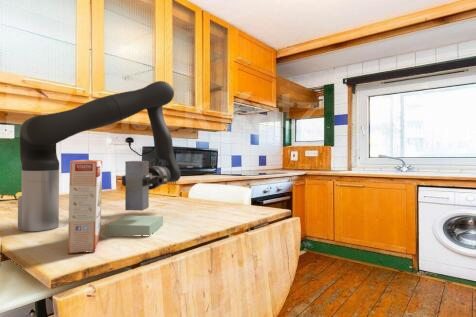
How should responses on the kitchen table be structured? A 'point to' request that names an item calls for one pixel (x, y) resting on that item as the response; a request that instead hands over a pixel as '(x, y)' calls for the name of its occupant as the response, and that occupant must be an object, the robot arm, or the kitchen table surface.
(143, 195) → the block
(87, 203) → the cracker box
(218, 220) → the kitchen table surface
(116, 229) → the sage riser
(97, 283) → the kitchen table surface
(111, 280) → the kitchen table surface
